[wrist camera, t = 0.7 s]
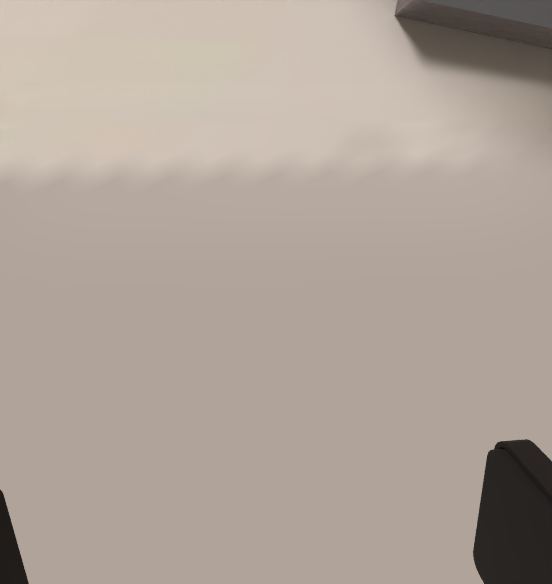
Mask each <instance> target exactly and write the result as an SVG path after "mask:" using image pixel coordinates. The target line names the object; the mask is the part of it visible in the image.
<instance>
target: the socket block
mask: <svg viewBox="0 0 552 584" xmlns="http://www.w3.org/2000/svg"><path fill="white" fill-rule="evenodd" d="M395 15H396V16H400V17H405V18H410V19H415V20H419V21H424V22H429V23H433V24H438V25H443V26H448V27H452V28H457V29H462V30H466V31H471V32H476V33H481V34H485V35H490V36H495V37H499V38H504V39H509V40H513V41H518V42H523V43H528V44H532V45H537V46H542V47H546V48H551V49H552V0H398V2H397V7H396V11H395Z"/></svg>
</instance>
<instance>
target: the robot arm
mask: <svg viewBox="0 0 552 584" xmlns="http://www.w3.org/2000/svg"><path fill="white" fill-rule="evenodd" d="M473 556H474V562H475V565H476V568H477V571H478V573H479V575H480V577H481V579H482V580H483V582H484V584H552V461H551V460H550V459H549V458H548V457H547V456H546V455H545V454H544V453H543V452H542V451H541V450H540V449H539V448H538V447H537V446H536V445H535V444H534V443H533V442H531V441H530V440H527V439H526V440H513V441H501V442H498V443H497V444H496V445H495V448H494V450H490V451H489V452H488V455H487V461H486V468H485V475H484V482H483V488H482V495H481V502H480V509H479V516H478V522H477V529H476V536H475V543H474V550H473ZM0 584H28V580H27V576H26V573H25V569H24V566H23V562H22V558H21V555H20V551H19V548H18V544H17V541H16V538H15V534H14V530H13V526H12V523H11V519H10V516H9V512H8V509H7V505H6V502H5V498H4V495H3V493H2V491H1V490H0Z"/></svg>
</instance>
